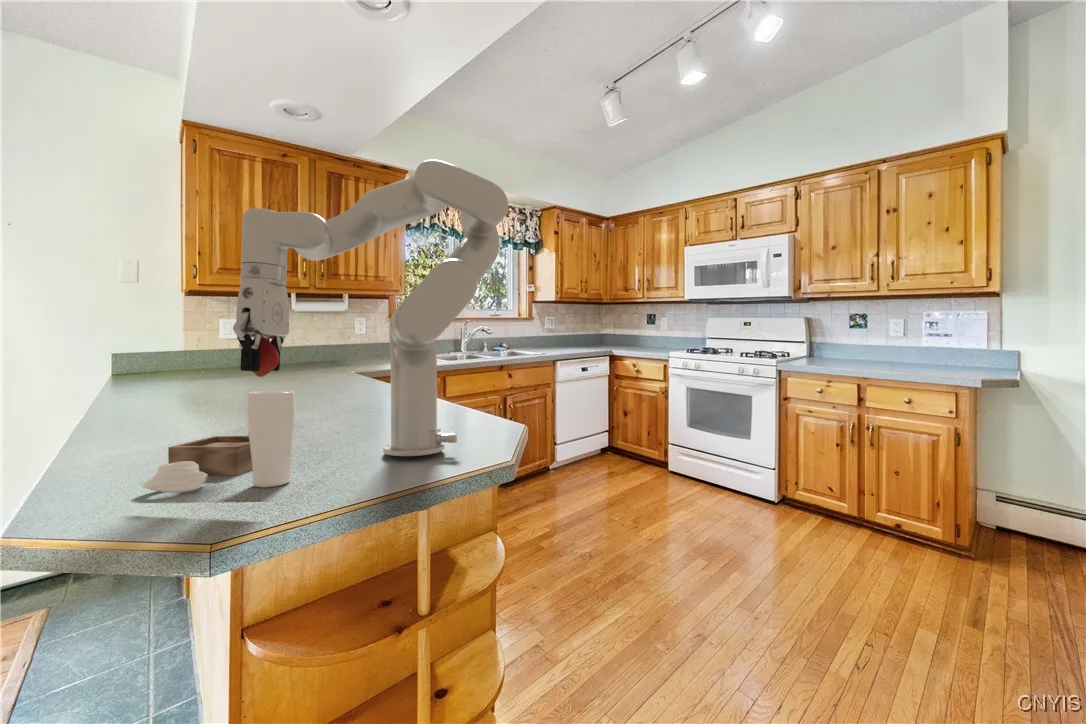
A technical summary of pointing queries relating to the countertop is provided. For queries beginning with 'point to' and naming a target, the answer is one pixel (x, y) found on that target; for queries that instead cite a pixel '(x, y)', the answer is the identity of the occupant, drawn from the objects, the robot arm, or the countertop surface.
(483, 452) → the countertop surface
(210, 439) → the walnut base
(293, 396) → the drinking glass
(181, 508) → the countertop surface
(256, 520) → the countertop surface
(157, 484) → the whipped cream
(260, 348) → the onion
